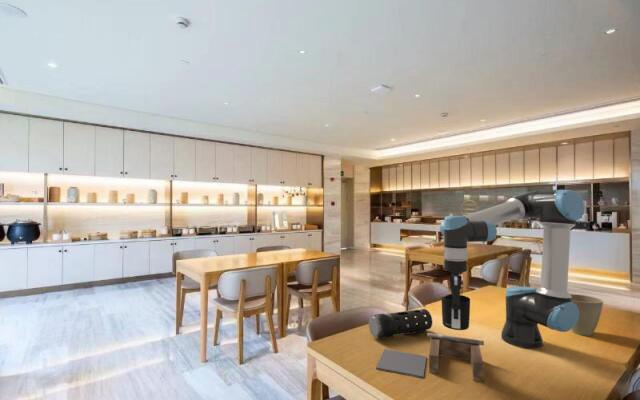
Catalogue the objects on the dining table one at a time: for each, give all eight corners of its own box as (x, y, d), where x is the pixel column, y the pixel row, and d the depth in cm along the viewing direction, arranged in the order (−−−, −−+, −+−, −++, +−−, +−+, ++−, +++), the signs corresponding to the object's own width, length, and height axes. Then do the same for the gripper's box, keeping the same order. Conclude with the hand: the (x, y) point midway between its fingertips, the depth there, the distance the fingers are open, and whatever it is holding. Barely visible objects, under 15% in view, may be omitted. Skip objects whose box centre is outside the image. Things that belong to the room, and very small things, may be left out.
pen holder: (437, 321, 121) (437, 293, 121) (463, 321, 121) (463, 294, 121) (446, 330, 112) (446, 301, 112) (474, 331, 112) (474, 301, 112)
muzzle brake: (433, 335, 148) (433, 311, 148) (379, 344, 138) (379, 319, 138) (419, 327, 157) (419, 305, 157) (367, 335, 147) (367, 312, 147)
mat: (426, 357, 125) (426, 356, 125) (423, 378, 111) (423, 376, 111) (384, 350, 131) (384, 348, 131) (376, 369, 116) (376, 367, 116)
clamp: (483, 360, 124) (483, 340, 124) (488, 383, 108) (488, 359, 108) (427, 351, 131) (427, 332, 131) (424, 371, 115) (424, 349, 115)
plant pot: (604, 332, 152) (603, 298, 152) (602, 342, 141) (602, 305, 142) (564, 324, 162) (564, 291, 163) (559, 332, 152) (559, 298, 152)
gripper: (444, 254, 128) (444, 312, 128) (443, 263, 108) (443, 332, 108) (465, 255, 125) (465, 314, 125) (468, 265, 105) (468, 336, 105)
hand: (455, 323), depth 116 cm, fingers closed on pen holder, 9 cm apart
